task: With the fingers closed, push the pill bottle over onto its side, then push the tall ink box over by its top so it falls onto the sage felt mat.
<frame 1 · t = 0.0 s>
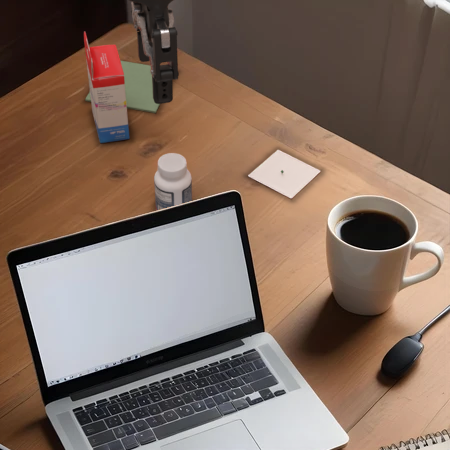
hand: (155, 80, 99), 25 cm above the table, tool pointing down, fingers open, 8 cm apart
pill bottle: (173, 210, 121), on the table
felt mat: (131, 86, 139), on the table
coaster: (284, 174, 127), on the table
ink box: (110, 126, 133), on the table
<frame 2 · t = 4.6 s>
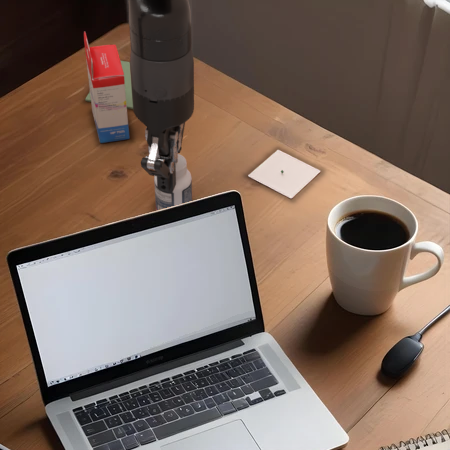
hand: (166, 188, 113), 7 cm above the table, tool pointing down, fingers closed
pill bottle: (173, 210, 121), on the table, touching gripper
everything else where it was.
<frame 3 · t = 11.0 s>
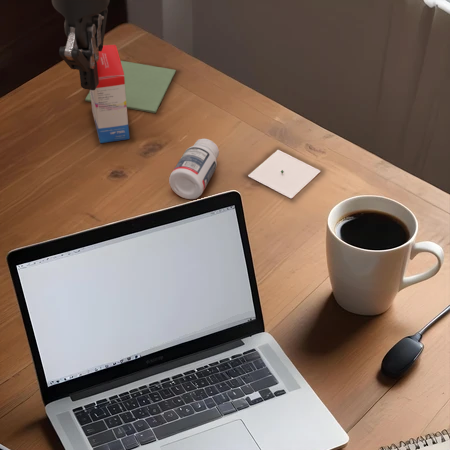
hand: (90, 86, 119), 12 cm above the table, tool pointing down, fingers closed
pill bottle: (184, 186, 120), point 3 cm above the table
ink box: (110, 126, 133), on the table, touching gripper
everything else where it was.
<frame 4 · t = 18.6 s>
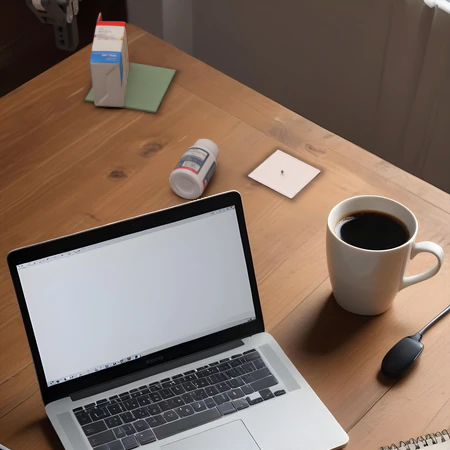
hand: (67, 46, 95), 29 cm above the table, tool pointing down, fingers closed
ink box: (106, 86, 132), point 5 cm above the table, touching felt mat
everything else where it was.
at the end: pill bottle tilted 90°; ink box tilted 89°; ink box inside the target area on the felt mat (6.1 cm from its centre), point 4.6 cm above the felt mat's base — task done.
